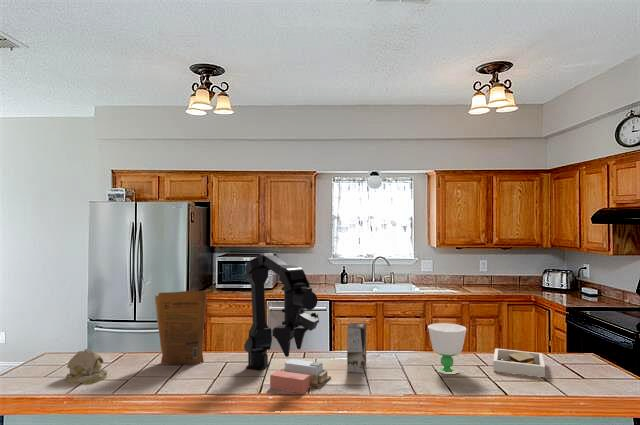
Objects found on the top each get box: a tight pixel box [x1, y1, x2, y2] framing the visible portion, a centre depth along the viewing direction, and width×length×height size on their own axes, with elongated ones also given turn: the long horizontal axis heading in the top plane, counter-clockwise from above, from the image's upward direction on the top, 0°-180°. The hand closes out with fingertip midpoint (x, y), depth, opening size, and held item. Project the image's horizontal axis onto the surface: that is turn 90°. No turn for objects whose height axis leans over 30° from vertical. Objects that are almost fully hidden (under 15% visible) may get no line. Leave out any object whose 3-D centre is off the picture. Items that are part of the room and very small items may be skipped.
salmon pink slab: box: [269, 370, 311, 394], centre depth 148 cm, size 12×5×4 cm, turn 67°
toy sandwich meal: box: [500, 351, 537, 365], centre depth 169 cm, size 12×14×5 cm
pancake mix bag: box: [154, 290, 208, 366], centre depth 174 cm, size 7×19×28 cm, turn 92°
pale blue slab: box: [284, 358, 324, 381], centre depth 155 cm, size 12×5×5 cm, turn 67°
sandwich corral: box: [492, 348, 546, 378], centre depth 168 cm, size 17×17×4 cm
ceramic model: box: [65, 348, 108, 384], centre depth 158 cm, size 14×11×10 cm
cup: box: [427, 322, 467, 372], centre depth 165 cm, size 14×14×16 cm
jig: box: [280, 366, 332, 389], centre depth 155 cm, size 16×10×3 cm, turn 66°
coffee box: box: [346, 322, 367, 374], centre depth 167 cm, size 9×6×16 cm
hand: (293, 352), depth 149 cm, fingers open, 9 cm apart
